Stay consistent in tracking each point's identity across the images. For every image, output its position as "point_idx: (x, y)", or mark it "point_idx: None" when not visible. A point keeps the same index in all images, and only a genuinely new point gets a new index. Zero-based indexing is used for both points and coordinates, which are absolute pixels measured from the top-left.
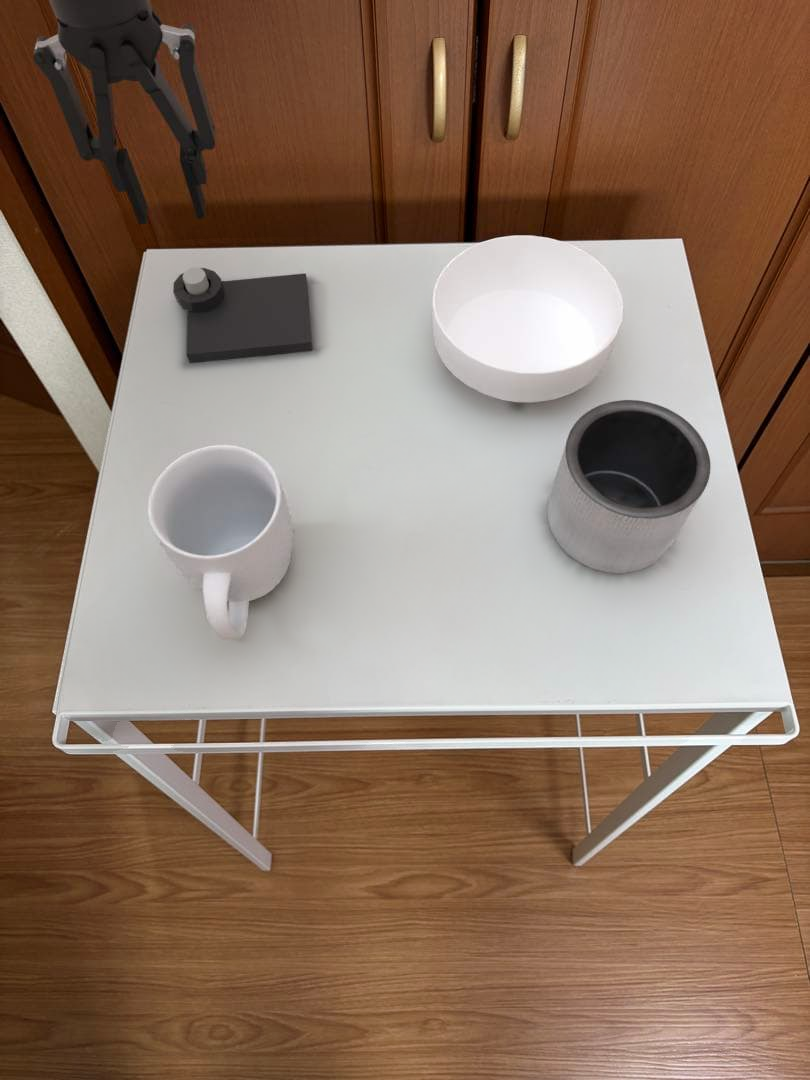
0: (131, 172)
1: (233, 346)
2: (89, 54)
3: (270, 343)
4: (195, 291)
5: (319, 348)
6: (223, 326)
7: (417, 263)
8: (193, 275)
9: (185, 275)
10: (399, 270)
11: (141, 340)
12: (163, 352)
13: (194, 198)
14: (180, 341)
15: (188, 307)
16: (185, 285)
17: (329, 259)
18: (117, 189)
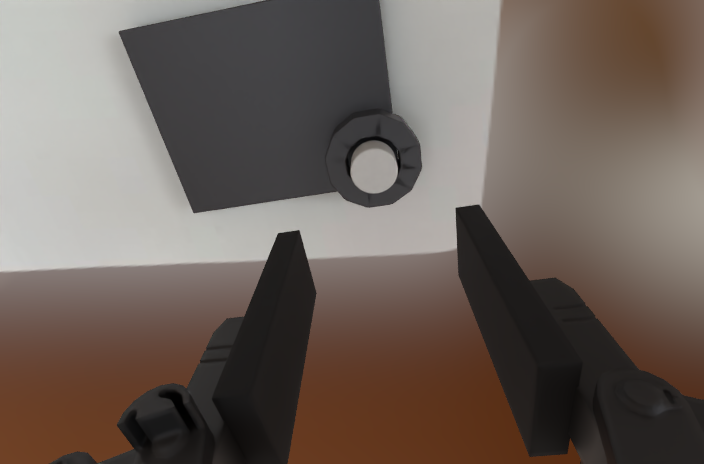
0: (503, 351)
1: (277, 9)
2: None
3: (200, 22)
4: (372, 142)
5: None
6: (311, 70)
7: (39, 247)
8: (375, 171)
9: (391, 171)
10: (60, 233)
11: (484, 47)
12: (435, 12)
13: (275, 270)
14: (403, 47)
15: (387, 113)
16: (393, 154)
17: (182, 252)
18: (560, 284)
